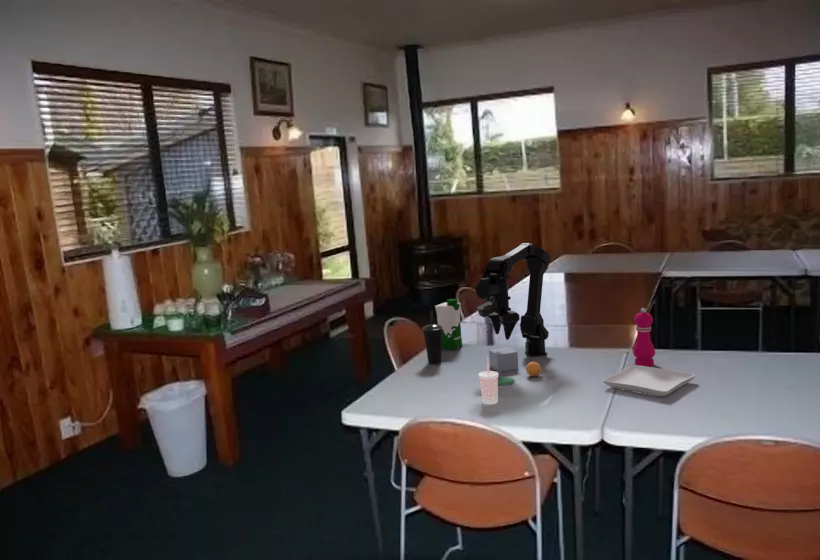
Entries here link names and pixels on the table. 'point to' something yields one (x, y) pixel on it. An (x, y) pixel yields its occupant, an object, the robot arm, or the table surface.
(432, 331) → the drinking cup
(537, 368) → the ball
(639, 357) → the pepper mill
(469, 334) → the table surface
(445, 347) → the milk carton
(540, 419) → the table surface
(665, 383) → the salad plate
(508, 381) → the disc
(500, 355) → the grey block
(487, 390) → the beverage cup
